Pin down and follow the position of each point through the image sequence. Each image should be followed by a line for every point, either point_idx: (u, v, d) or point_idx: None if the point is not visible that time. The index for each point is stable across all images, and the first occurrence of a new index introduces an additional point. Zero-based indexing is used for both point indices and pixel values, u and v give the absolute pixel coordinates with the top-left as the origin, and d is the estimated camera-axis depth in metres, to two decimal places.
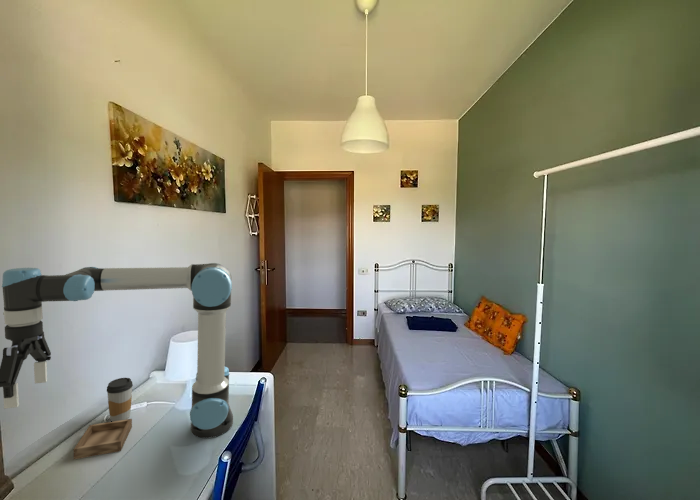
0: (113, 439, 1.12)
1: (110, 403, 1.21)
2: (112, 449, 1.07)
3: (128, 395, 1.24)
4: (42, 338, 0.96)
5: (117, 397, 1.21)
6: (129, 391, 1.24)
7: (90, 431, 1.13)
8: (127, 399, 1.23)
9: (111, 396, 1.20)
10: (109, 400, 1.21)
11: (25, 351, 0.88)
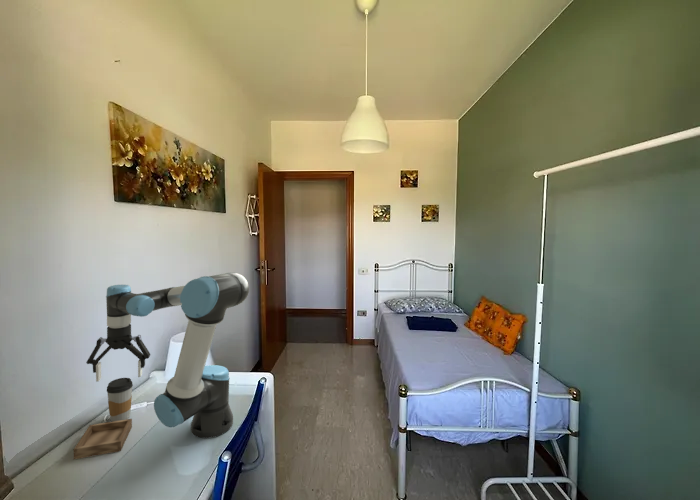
0: (113, 439, 1.12)
1: (110, 403, 1.21)
2: (112, 449, 1.07)
3: (128, 395, 1.24)
4: (137, 342, 1.24)
5: (117, 397, 1.21)
6: (129, 391, 1.24)
7: (90, 431, 1.13)
8: (127, 399, 1.23)
9: (111, 396, 1.20)
10: (109, 400, 1.21)
11: (109, 345, 1.20)
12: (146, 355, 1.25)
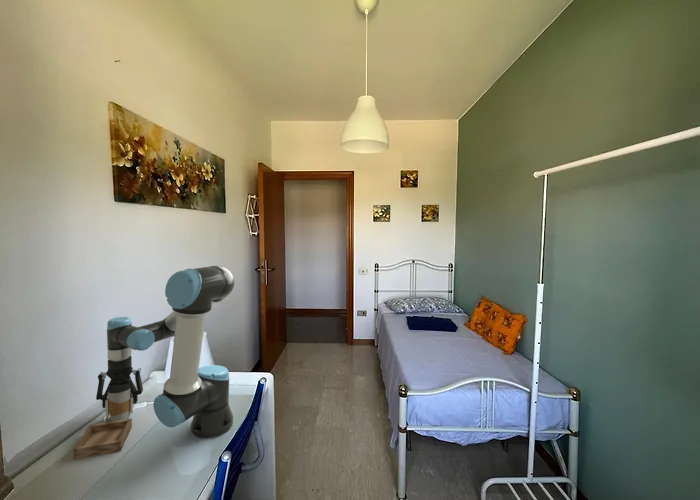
0: (113, 439, 1.12)
1: (110, 402, 1.21)
2: (112, 449, 1.07)
3: (129, 395, 1.24)
4: (135, 376, 1.25)
5: (117, 397, 1.21)
6: (129, 391, 1.24)
7: (90, 431, 1.13)
8: (127, 399, 1.23)
9: (111, 396, 1.20)
10: (109, 400, 1.21)
11: (111, 379, 1.21)
12: (139, 391, 1.25)
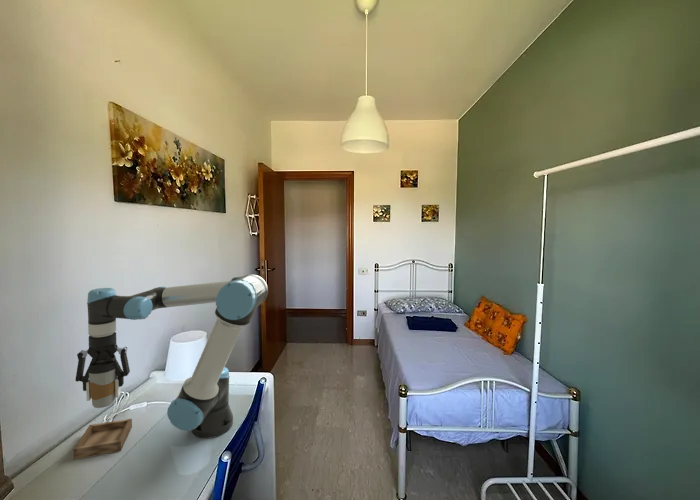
0: (113, 439, 1.12)
1: (91, 384, 1.06)
2: (112, 449, 1.07)
3: (113, 376, 1.09)
4: (121, 355, 1.10)
5: (100, 378, 1.06)
6: (114, 372, 1.09)
7: (90, 431, 1.13)
8: (111, 381, 1.09)
9: (93, 377, 1.06)
10: (91, 382, 1.06)
11: (92, 358, 1.07)
12: (125, 372, 1.11)
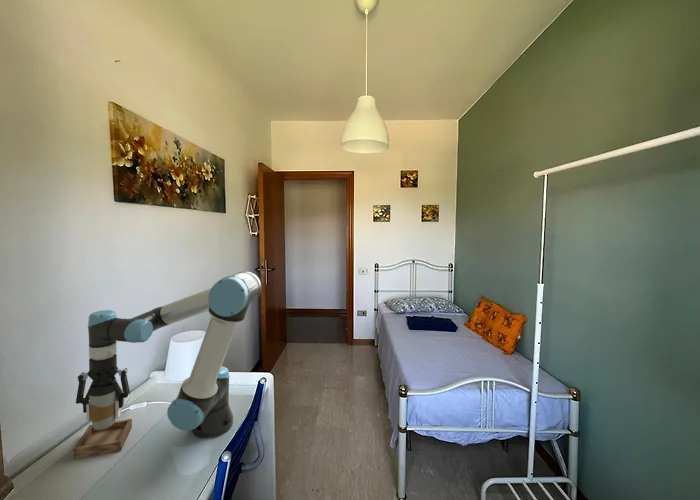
0: (113, 439, 1.12)
1: (91, 407, 1.07)
2: (112, 449, 1.07)
3: (113, 398, 1.10)
4: (121, 377, 1.11)
5: (100, 400, 1.07)
6: (114, 394, 1.10)
7: (90, 431, 1.13)
8: (111, 403, 1.09)
9: (93, 399, 1.06)
10: (91, 404, 1.07)
11: (93, 380, 1.07)
12: (125, 393, 1.12)
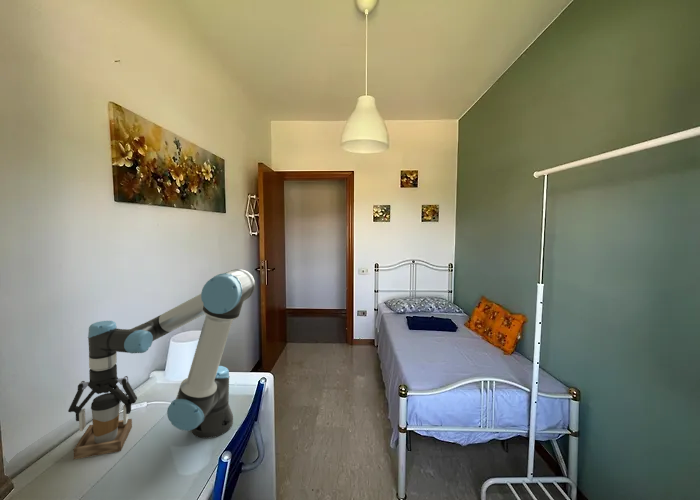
0: None
1: (94, 421, 1.08)
2: (112, 449, 1.07)
3: (115, 412, 1.11)
4: (123, 385, 1.11)
5: (102, 415, 1.08)
6: (116, 408, 1.11)
7: (90, 431, 1.13)
8: (114, 417, 1.11)
9: (96, 414, 1.07)
10: (93, 418, 1.08)
11: (92, 390, 1.08)
12: (132, 400, 1.12)
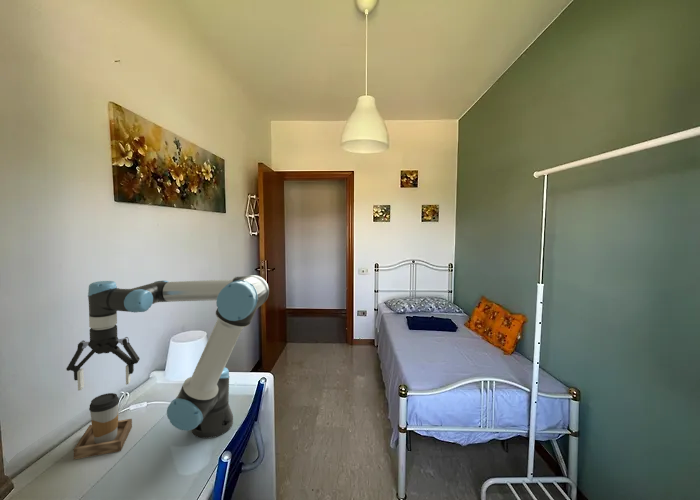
0: None
1: (93, 422, 1.08)
2: (112, 449, 1.07)
3: (114, 413, 1.11)
4: (124, 345, 1.10)
5: (101, 416, 1.07)
6: (115, 408, 1.11)
7: (90, 431, 1.13)
8: (113, 417, 1.10)
9: (94, 415, 1.07)
10: (92, 419, 1.08)
11: (92, 349, 1.07)
12: (135, 360, 1.12)
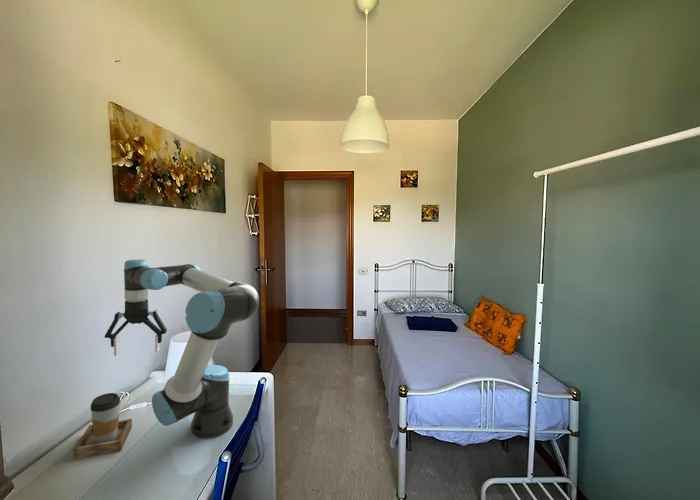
0: None
1: (94, 422, 1.08)
2: (112, 449, 1.07)
3: (115, 413, 1.11)
4: (154, 317, 1.24)
5: (102, 415, 1.08)
6: (116, 408, 1.11)
7: (90, 431, 1.13)
8: (114, 417, 1.10)
9: (95, 415, 1.07)
10: (93, 419, 1.08)
11: (126, 319, 1.20)
12: (163, 330, 1.25)
